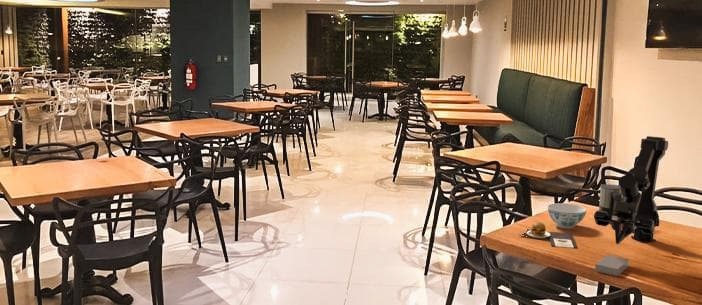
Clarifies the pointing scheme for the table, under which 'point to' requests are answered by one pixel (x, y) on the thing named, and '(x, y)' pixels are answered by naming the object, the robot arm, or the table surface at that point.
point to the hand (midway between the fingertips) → (617, 243)
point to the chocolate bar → (562, 240)
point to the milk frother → (609, 198)
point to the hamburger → (537, 232)
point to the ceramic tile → (612, 265)
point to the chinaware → (566, 214)
